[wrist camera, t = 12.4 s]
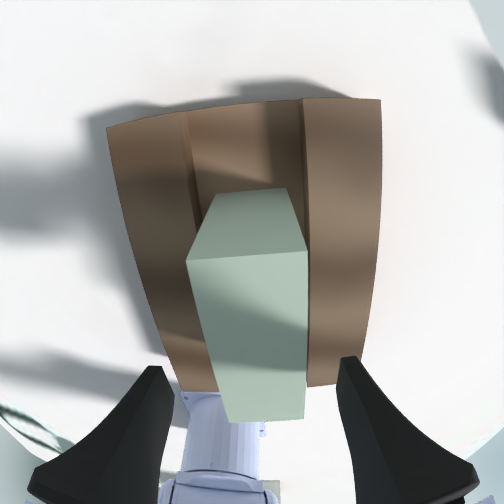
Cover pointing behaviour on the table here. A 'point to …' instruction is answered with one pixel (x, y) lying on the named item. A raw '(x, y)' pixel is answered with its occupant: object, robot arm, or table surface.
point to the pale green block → (253, 303)
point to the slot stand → (247, 179)
